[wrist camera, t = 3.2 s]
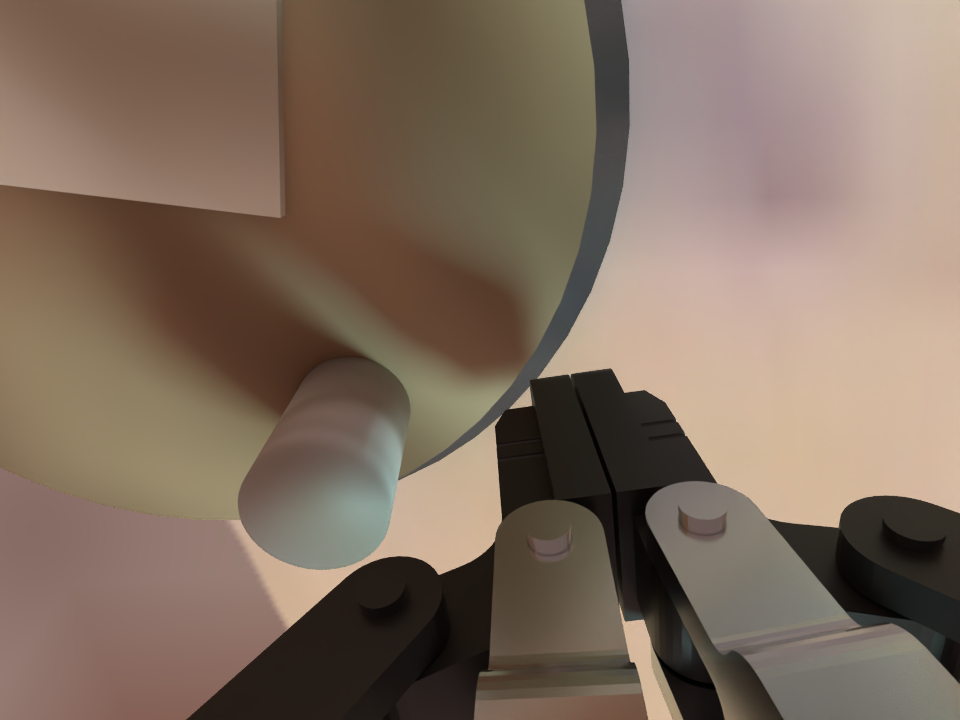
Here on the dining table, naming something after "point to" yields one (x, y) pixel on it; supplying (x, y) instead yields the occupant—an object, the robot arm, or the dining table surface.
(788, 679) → the robot arm
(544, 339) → the base plate
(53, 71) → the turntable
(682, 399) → the dining table surface
